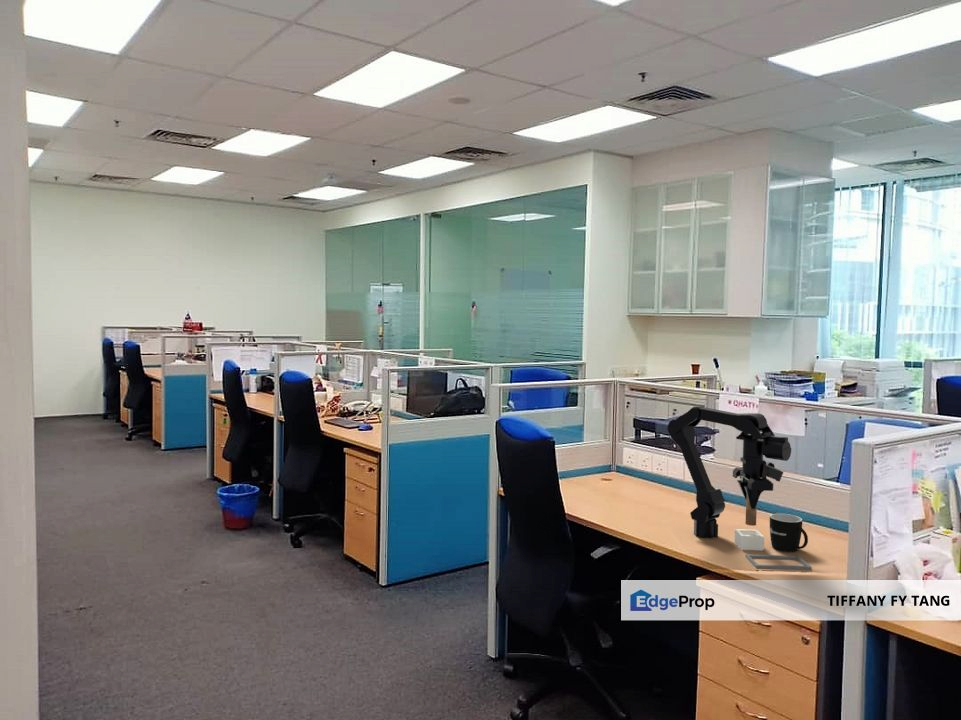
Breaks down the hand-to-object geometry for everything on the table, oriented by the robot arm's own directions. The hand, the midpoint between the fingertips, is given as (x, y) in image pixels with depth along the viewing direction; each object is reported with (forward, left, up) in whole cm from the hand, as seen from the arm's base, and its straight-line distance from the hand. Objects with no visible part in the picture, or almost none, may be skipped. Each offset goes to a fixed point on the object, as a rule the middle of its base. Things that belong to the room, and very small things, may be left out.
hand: (751, 507), depth 208 cm
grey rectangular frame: (+3, -13, -13) cm, 19 cm away
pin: (0, 0, -5) cm, 5 cm away
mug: (+11, -1, -13) cm, 17 cm away
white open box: (0, +1, -13) cm, 13 cm away
